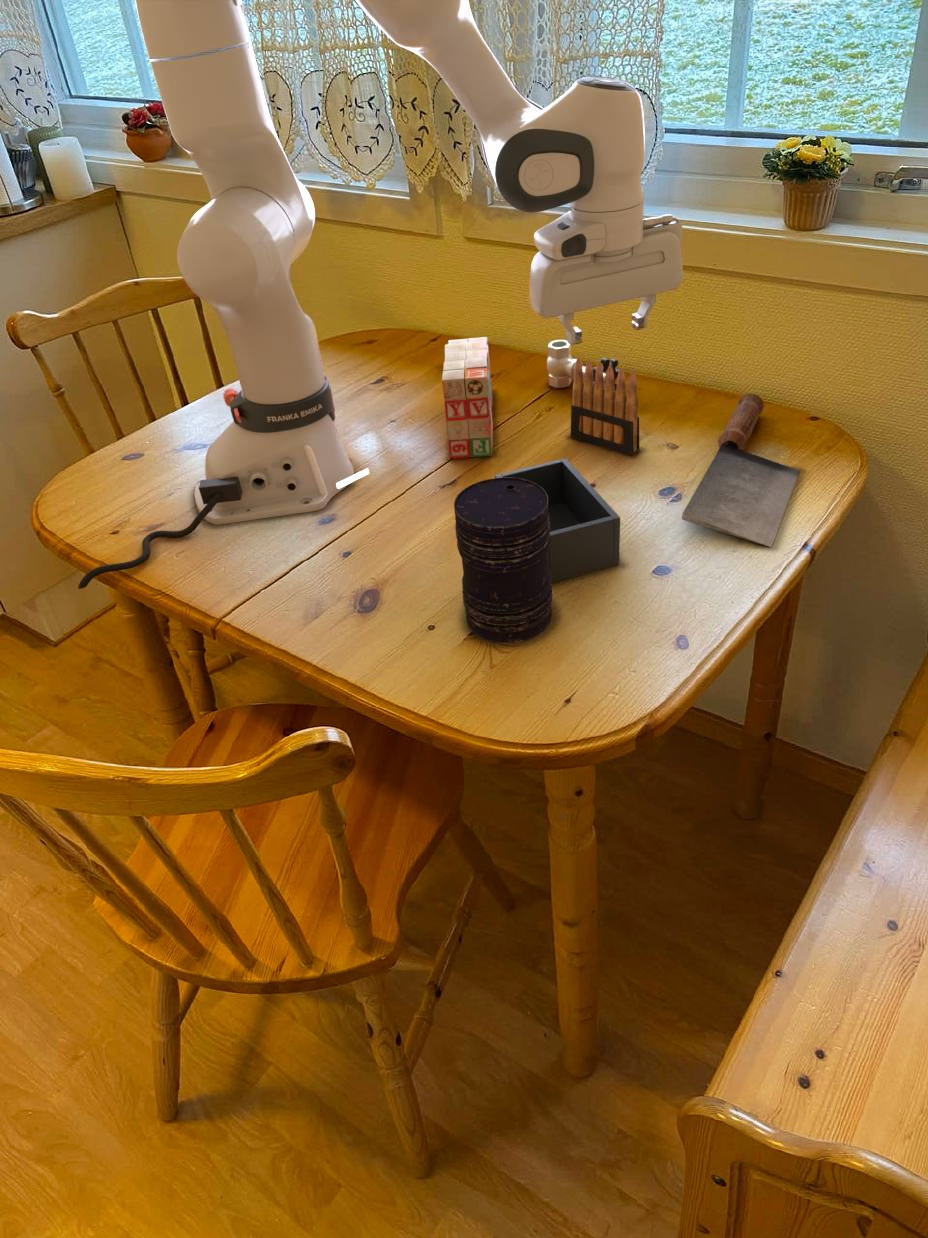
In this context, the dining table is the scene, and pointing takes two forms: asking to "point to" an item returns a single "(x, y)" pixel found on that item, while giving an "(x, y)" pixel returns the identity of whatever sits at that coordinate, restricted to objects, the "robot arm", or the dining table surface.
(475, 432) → the stack of blocks
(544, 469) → the bin
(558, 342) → the valve
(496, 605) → the dark blue cylinder
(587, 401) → the ammunition clip
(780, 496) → the meat cleaver
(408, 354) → the dining table surface
